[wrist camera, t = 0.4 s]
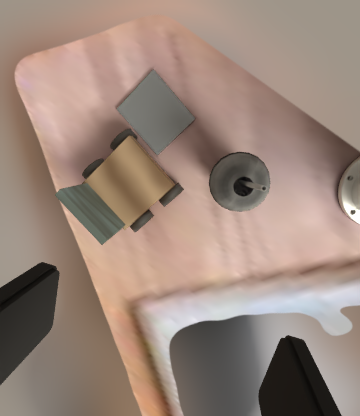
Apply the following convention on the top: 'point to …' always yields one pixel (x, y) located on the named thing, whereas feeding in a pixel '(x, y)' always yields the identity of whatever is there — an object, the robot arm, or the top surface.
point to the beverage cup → (239, 181)
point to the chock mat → (155, 112)
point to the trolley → (119, 190)
